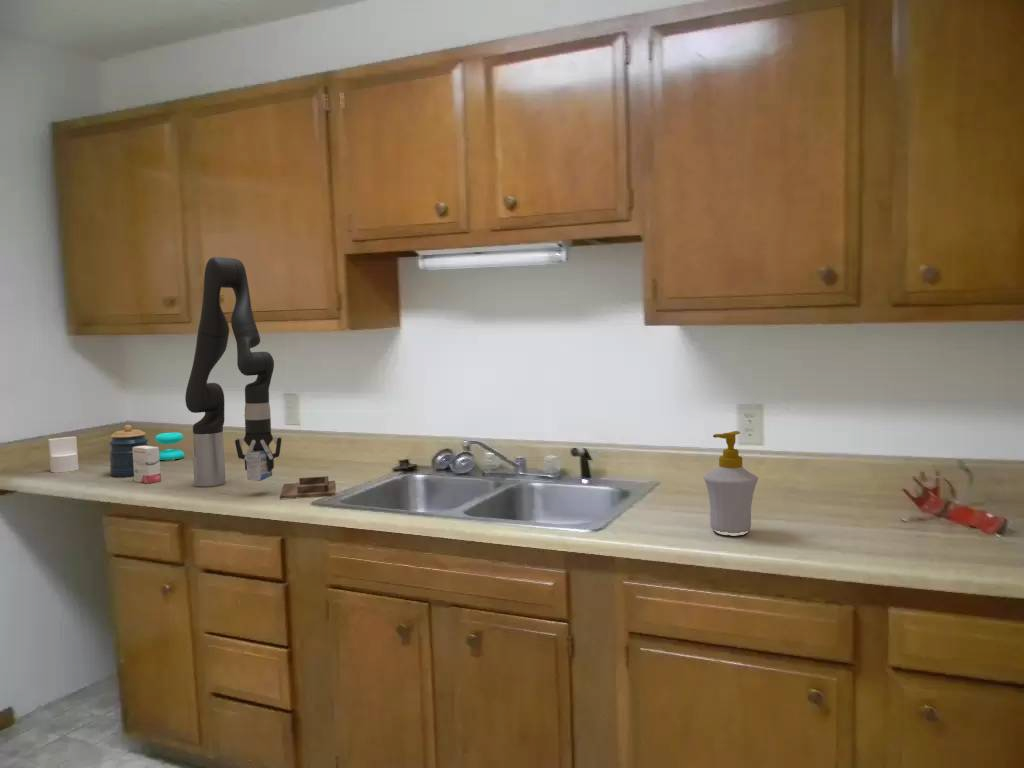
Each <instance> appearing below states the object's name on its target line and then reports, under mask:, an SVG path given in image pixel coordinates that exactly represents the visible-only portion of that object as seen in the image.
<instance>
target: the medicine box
mask: <svg viewBox="0 0 1024 768" xmlns="http://www.w3.org/2000/svg"><path fill="white" fill-rule="evenodd" d="M245 453H246V454H245V455H246V458H247V471H246V478H247V481H253V482H254V481H255V482H256V481H258V482H261V481H263V480H265V479H268V478H270V477H273V470H272V471H269V457H268V455H267V453H266V452H265V450H254V451H253V450H252V452H248V453H247V452H245Z"/></svg>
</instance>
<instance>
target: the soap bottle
mask: <svg viewBox="0 0 1024 768" xmlns="http://www.w3.org/2000/svg"><path fill="white" fill-rule="evenodd" d="M739 434H741V432H740V431H739V430H734V431H730V432H723V433H715V434H713V435H712V437H713V438H719V439H724V440H725V443H726V445H727V448H725V449H723V451H722V455H720V456H719V457H718V467H716V468H714V469H713V470H712V471H708V472H706V473H705V474H704V475H703V479H704V482H705V485H706V488H707V494H708V500H709V505H710V506H709V515H710V517H709V525H710V528H712V529H713V530H716V531H720V532H728V533H740V532H746V531H749V532H750V530H751V527H752V503H753V499H754V498H753V497H754V494H755V493H754V492H755V490H756V486H757V483H758V481H759V477H758V476H757V475H756V474H754V473H752V472H750V471H748V470H747V469H746V468H744V467H743V457H742V456H740V455H739V453H740V452H739V450H738V449H737V448H735V444H736V443H737V442H736V440H737V439H736V437H737V436H736V435H739ZM712 529H711V530H712ZM713 530H712V531H713Z"/></svg>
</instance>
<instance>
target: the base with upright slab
mask: <svg viewBox="0 0 1024 768" xmlns="http://www.w3.org/2000/svg"><path fill="white" fill-rule="evenodd" d="M77 442H78V440H77V436H66V437H65V436H64V437H56V438H48V451H49V463H50V466H49V467H50V473H51V472H66V473H68V472H67V471H73V472H75V471H74V470H77V471H79V470H78V469H79V457H78V455H79V453H78V443H77Z"/></svg>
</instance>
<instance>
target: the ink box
mask: <svg viewBox="0 0 1024 768" xmlns="http://www.w3.org/2000/svg"><path fill="white" fill-rule="evenodd" d="M132 450H133V466H134V476H133V479H134V482H136V483H137V482H138V483H143V482H144V483H145V484H152V483H153V482H154V483H157V481H158V482H161V481H162V475H161V461H160V460H159V452H160V449H159V447H158V446H151V445H148V446H137V447H133V448H132Z"/></svg>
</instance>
